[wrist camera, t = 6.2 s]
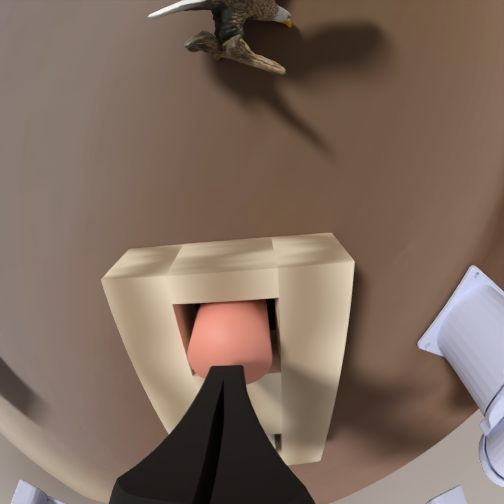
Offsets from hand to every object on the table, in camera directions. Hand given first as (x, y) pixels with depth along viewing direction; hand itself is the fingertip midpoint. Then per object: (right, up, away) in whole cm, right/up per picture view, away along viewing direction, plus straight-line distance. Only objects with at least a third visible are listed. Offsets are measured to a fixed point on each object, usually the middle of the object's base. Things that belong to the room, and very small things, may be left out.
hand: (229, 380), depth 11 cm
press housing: (0, -3, +8) cm, 9 cm away
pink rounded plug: (0, +2, +5) cm, 6 cm away
